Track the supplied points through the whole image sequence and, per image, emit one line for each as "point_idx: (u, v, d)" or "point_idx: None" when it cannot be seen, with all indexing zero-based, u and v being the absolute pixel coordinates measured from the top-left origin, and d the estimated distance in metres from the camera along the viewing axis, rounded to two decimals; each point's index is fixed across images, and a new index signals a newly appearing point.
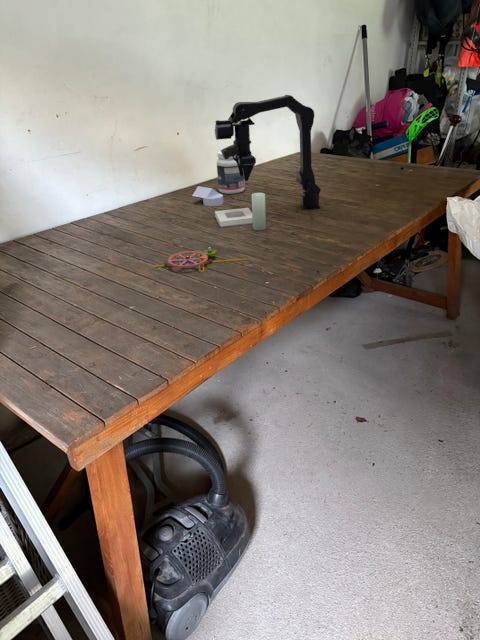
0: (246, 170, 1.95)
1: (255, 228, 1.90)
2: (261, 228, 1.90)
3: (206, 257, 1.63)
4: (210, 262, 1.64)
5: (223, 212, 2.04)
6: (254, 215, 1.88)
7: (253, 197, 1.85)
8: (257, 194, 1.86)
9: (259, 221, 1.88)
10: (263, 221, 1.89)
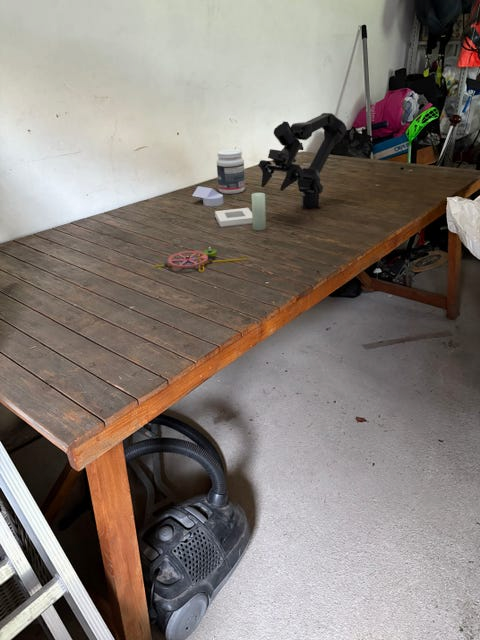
0: (288, 180, 1.88)
1: (255, 228, 1.90)
2: (261, 228, 1.90)
3: (206, 257, 1.63)
4: (210, 262, 1.64)
5: (223, 212, 2.04)
6: (254, 215, 1.88)
7: (253, 197, 1.85)
8: (257, 194, 1.86)
9: (259, 221, 1.88)
10: (263, 221, 1.89)
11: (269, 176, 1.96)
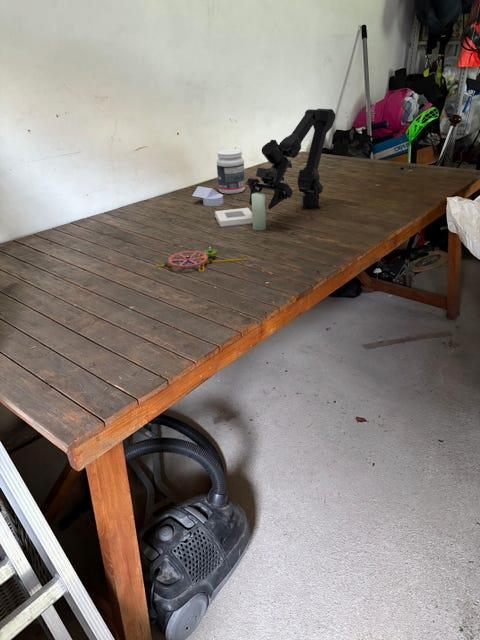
0: (276, 199, 1.86)
1: (255, 228, 1.90)
2: (261, 228, 1.90)
3: (206, 257, 1.63)
4: (210, 262, 1.64)
5: (223, 212, 2.04)
6: (254, 215, 1.88)
7: (253, 197, 1.85)
8: (257, 194, 1.86)
9: (259, 221, 1.88)
10: (263, 221, 1.89)
11: None
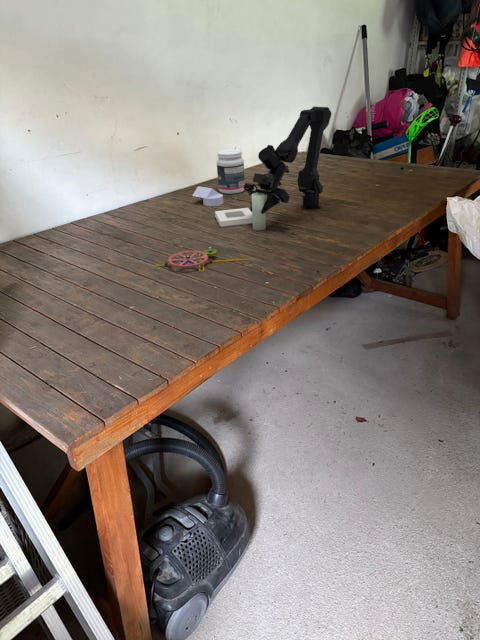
0: (269, 203, 1.86)
1: (255, 228, 1.90)
2: (261, 228, 1.90)
3: (206, 257, 1.63)
4: (210, 262, 1.64)
5: (223, 212, 2.04)
6: (254, 215, 1.88)
7: (253, 197, 1.85)
8: (257, 194, 1.86)
9: (259, 220, 1.88)
10: (263, 221, 1.89)
11: None
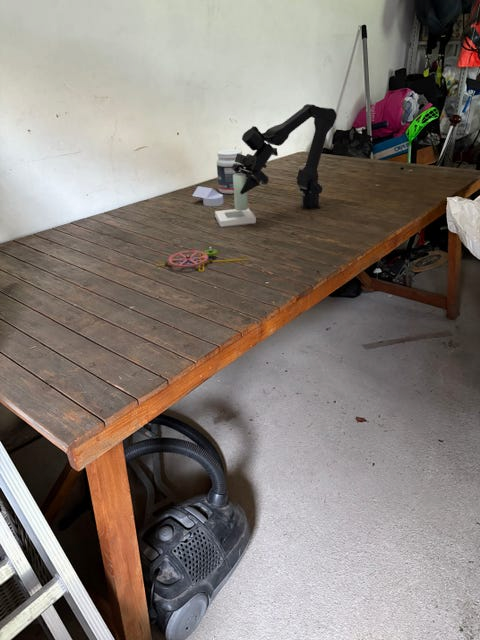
0: (249, 184, 1.89)
1: (236, 208, 1.94)
2: (241, 208, 1.93)
3: (206, 257, 1.63)
4: (210, 262, 1.64)
5: (223, 212, 2.04)
6: (234, 195, 1.92)
7: (233, 177, 1.89)
8: (238, 174, 1.89)
9: (239, 201, 1.92)
10: (243, 202, 1.92)
11: None
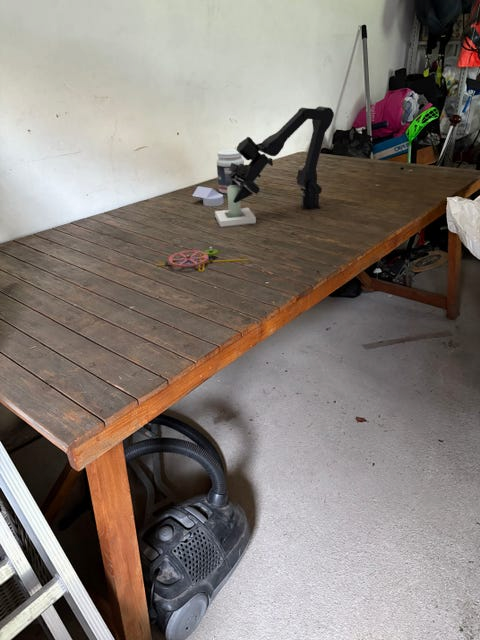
0: (242, 194, 1.94)
1: None
2: None
3: (207, 257, 1.63)
4: (211, 262, 1.64)
5: (223, 212, 2.04)
6: (228, 206, 1.99)
7: (227, 189, 1.96)
8: (232, 186, 1.96)
9: (232, 212, 1.98)
10: (236, 213, 1.99)
11: None
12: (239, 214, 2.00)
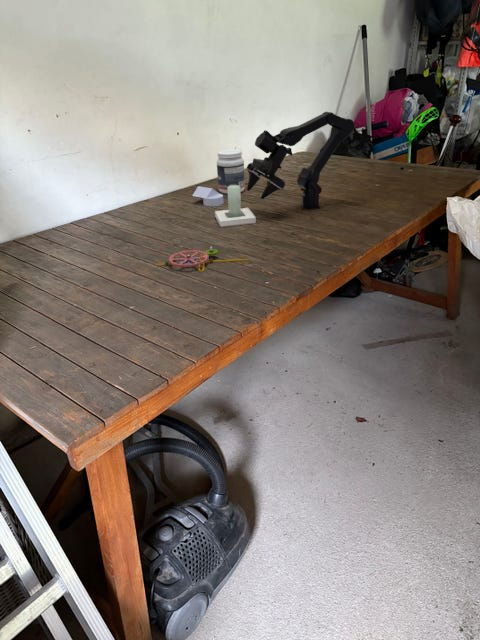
0: (269, 190, 1.97)
1: None
2: None
3: (207, 257, 1.63)
4: (211, 262, 1.64)
5: (223, 212, 2.04)
6: (228, 206, 1.99)
7: (227, 188, 1.96)
8: (232, 186, 1.96)
9: (232, 212, 1.98)
10: (236, 213, 1.99)
11: (256, 179, 2.04)
12: (239, 214, 2.00)
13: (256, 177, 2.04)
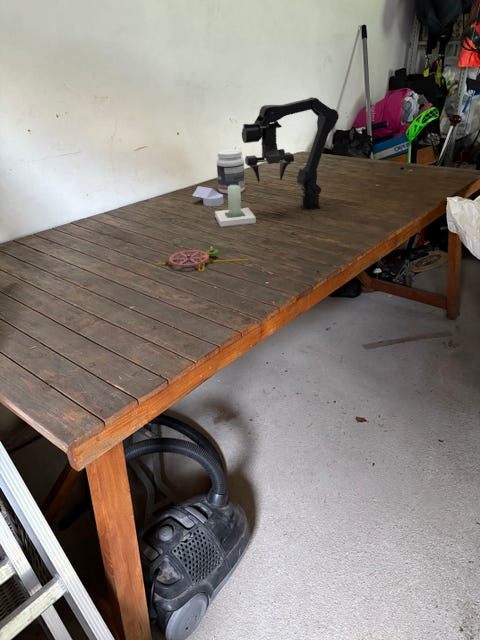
0: None
1: None
2: None
3: (207, 256, 1.63)
4: (211, 262, 1.64)
5: (223, 212, 2.04)
6: (228, 206, 1.99)
7: (228, 188, 1.96)
8: (232, 186, 1.96)
9: (232, 212, 1.98)
10: (236, 213, 1.99)
11: None
12: (239, 214, 2.00)
13: None
